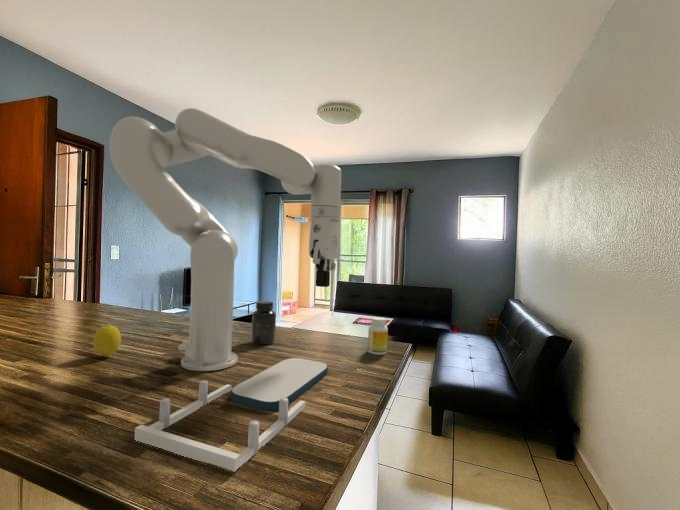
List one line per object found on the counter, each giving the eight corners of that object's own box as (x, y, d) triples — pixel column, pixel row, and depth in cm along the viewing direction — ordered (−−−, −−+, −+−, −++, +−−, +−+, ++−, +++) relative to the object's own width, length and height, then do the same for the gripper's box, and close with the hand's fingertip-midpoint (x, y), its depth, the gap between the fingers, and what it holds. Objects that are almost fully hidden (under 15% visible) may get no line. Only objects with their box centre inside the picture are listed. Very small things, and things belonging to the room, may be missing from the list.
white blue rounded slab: (276, 417, 56) (277, 405, 56) (222, 402, 60) (222, 391, 60) (332, 372, 78) (332, 364, 78) (289, 364, 82) (289, 356, 82)
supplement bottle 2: (363, 351, 94) (365, 317, 94) (377, 348, 98) (378, 315, 98) (377, 356, 90) (379, 321, 90) (390, 353, 94) (392, 319, 94)
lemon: (87, 358, 79) (88, 324, 79) (110, 352, 84) (111, 320, 84) (102, 362, 77) (103, 327, 77) (125, 355, 82) (126, 323, 82)
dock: (133, 440, 47) (134, 412, 47) (226, 389, 65) (226, 368, 65) (235, 474, 41) (237, 441, 41) (306, 407, 59) (307, 384, 59)
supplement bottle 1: (256, 338, 103) (258, 299, 103) (277, 340, 102) (279, 301, 102) (247, 344, 96) (249, 303, 96) (270, 346, 95) (271, 304, 95)
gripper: (327, 210, 77) (324, 290, 77) (348, 218, 91) (345, 285, 91) (298, 211, 80) (295, 287, 80) (323, 218, 94) (320, 283, 94)
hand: (322, 286), depth 85 cm, fingers closed
